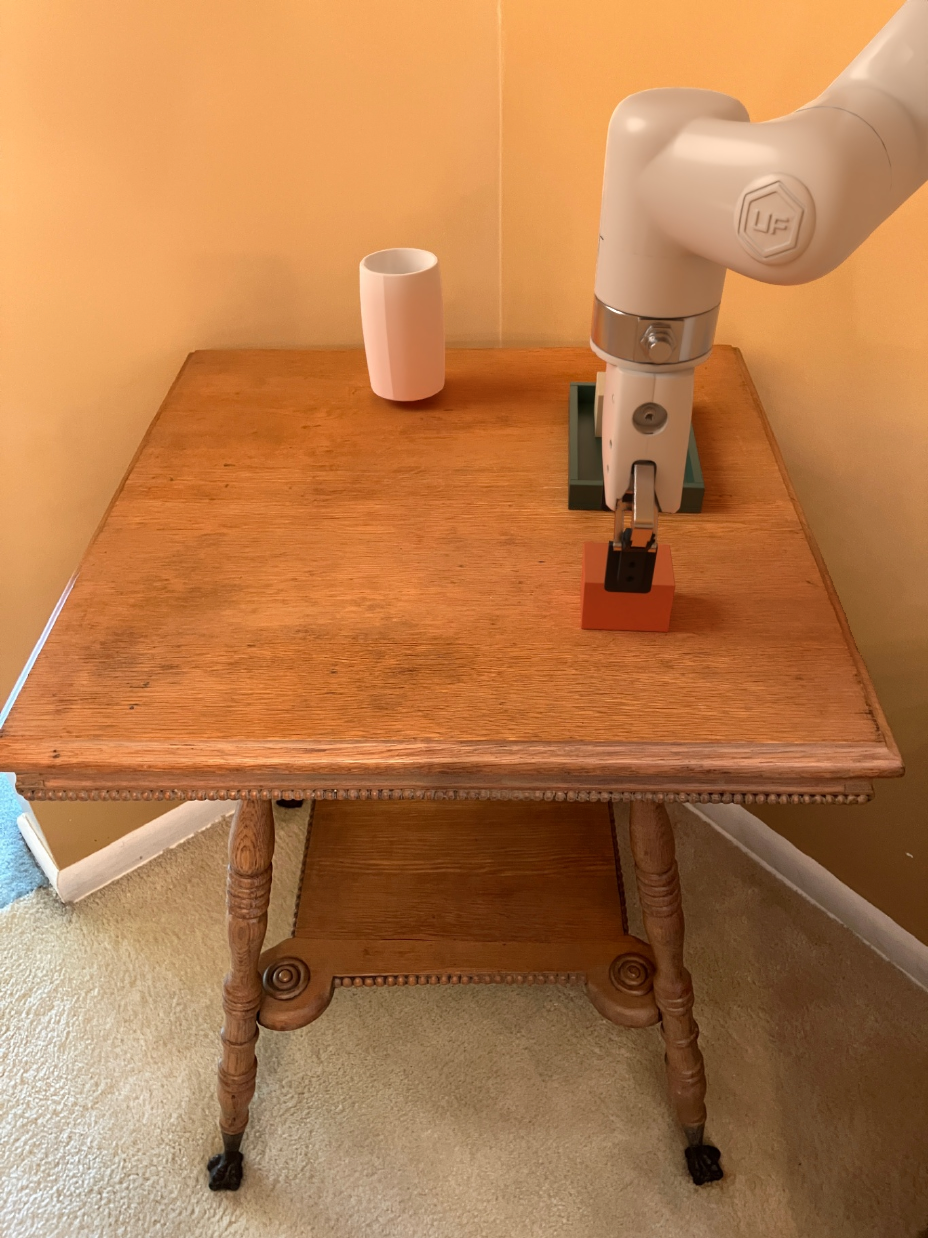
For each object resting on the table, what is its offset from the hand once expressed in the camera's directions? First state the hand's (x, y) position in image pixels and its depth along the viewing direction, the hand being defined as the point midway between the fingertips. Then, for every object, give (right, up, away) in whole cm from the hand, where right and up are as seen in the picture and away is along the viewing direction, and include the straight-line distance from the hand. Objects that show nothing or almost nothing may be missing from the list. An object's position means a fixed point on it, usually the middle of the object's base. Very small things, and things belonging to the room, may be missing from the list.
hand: (623, 547), depth 67 cm
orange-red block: (+1, -4, +3) cm, 6 cm away
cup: (-18, +19, +32) cm, 41 cm away
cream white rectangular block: (+4, +14, +24) cm, 28 cm away
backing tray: (+4, +11, +21) cm, 24 cm away
